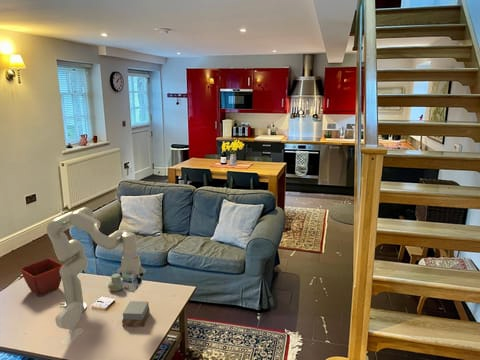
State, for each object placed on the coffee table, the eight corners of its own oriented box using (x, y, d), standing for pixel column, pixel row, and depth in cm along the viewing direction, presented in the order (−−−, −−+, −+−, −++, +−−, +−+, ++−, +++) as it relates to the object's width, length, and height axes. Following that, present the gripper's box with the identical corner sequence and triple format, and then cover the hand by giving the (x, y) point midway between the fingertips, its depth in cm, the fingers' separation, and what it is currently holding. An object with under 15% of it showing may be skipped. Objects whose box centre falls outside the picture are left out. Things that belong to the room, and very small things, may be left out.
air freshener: (106, 291, 239) (104, 277, 237) (113, 284, 247) (111, 271, 245) (121, 293, 237) (119, 279, 235) (127, 286, 245) (126, 273, 242)
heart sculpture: (65, 346, 188) (61, 316, 183) (57, 344, 189) (53, 315, 185) (86, 328, 202) (82, 300, 198) (78, 326, 204) (75, 298, 199)
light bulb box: (134, 293, 199) (132, 275, 197) (123, 291, 200) (121, 274, 198) (142, 283, 209) (141, 266, 207) (132, 282, 211) (130, 265, 208)
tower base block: (122, 327, 204) (122, 320, 203) (129, 313, 216) (129, 306, 215) (143, 327, 204) (143, 320, 202) (149, 313, 216) (149, 307, 215)
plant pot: (52, 279, 254) (49, 257, 250) (66, 287, 244) (63, 265, 239) (23, 291, 239) (19, 268, 235) (37, 300, 229) (33, 277, 224)
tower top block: (123, 319, 204) (122, 313, 203) (130, 307, 215) (130, 301, 214) (142, 319, 203) (141, 313, 202) (148, 307, 215) (148, 301, 214)
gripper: (112, 257, 196) (115, 286, 201) (143, 257, 196) (146, 286, 200) (117, 251, 204) (119, 279, 208) (147, 251, 203) (149, 279, 208)
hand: (132, 282), depth 204 cm, fingers closed on light bulb box, 7 cm apart
